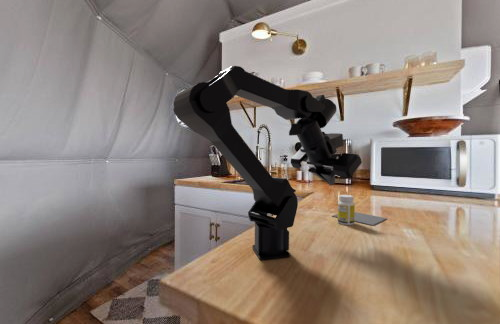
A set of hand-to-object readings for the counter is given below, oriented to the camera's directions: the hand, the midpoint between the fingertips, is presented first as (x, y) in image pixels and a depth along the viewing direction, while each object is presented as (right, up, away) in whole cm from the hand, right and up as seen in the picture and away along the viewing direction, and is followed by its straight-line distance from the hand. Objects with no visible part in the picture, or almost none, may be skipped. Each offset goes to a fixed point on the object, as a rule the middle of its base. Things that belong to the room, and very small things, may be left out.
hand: (332, 184), depth 64 cm
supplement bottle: (+6, -13, +6) cm, 16 cm away
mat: (+13, -12, +12) cm, 22 cm away
